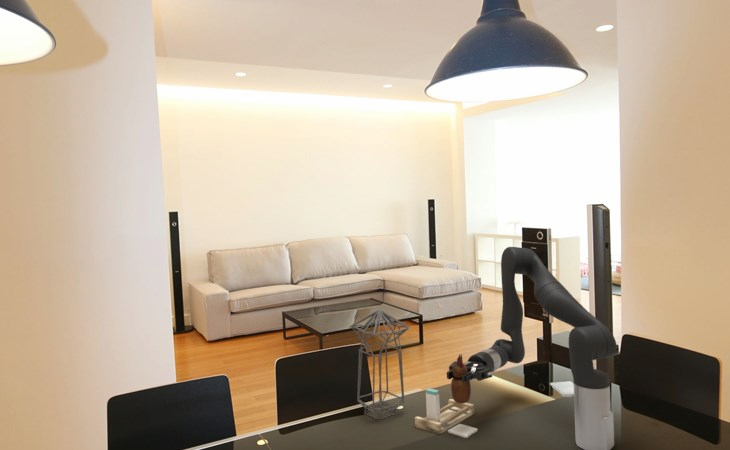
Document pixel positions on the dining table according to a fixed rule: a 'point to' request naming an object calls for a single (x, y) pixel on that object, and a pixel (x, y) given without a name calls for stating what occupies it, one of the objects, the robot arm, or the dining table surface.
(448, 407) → the light wooden tray
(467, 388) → the wooden figurine
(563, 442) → the dining table surface
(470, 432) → the pad
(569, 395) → the hard drive
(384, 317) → the geometric lantern
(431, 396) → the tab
